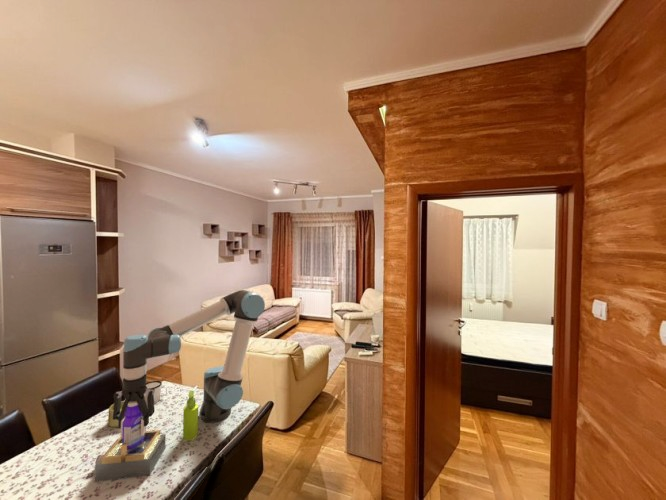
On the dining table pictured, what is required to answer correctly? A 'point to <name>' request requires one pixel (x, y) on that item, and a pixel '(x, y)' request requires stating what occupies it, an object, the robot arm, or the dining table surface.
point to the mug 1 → (110, 417)
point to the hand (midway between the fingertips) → (133, 434)
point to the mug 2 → (157, 387)
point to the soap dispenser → (190, 419)
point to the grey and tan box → (130, 458)
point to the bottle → (132, 426)
